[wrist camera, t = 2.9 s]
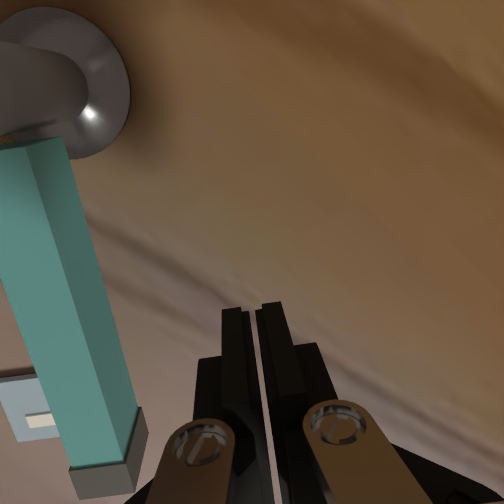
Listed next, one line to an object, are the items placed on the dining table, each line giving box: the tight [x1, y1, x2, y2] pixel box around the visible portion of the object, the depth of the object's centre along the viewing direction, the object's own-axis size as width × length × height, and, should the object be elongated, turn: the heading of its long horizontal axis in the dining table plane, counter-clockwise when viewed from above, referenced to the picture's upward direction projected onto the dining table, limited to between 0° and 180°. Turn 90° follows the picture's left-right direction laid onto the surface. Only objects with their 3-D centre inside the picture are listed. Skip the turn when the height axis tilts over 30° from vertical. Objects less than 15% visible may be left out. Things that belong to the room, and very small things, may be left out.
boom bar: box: [0, 41, 149, 500], centre depth 15 cm, size 15×2×6 cm, turn 7°
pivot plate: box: [0, 7, 131, 160], centre depth 16 cm, size 5×5×1 cm
